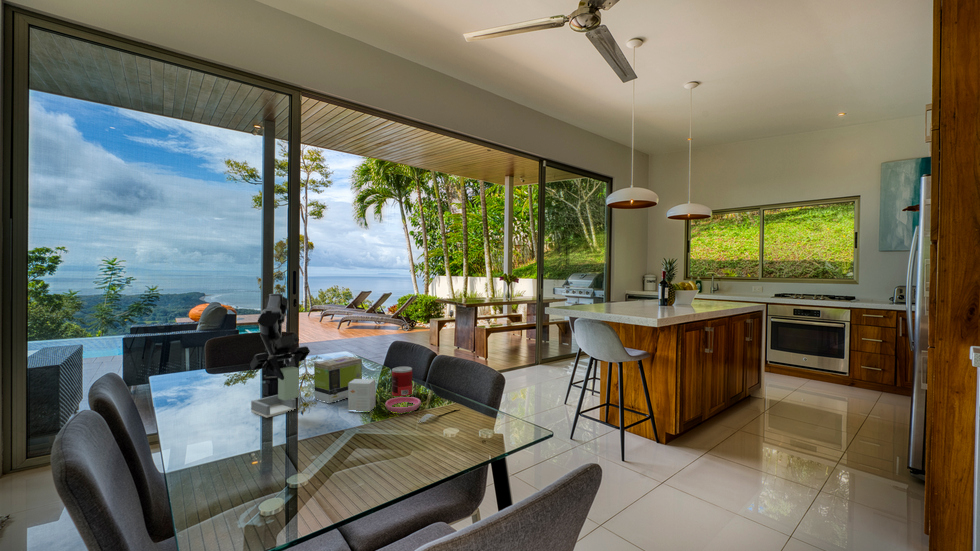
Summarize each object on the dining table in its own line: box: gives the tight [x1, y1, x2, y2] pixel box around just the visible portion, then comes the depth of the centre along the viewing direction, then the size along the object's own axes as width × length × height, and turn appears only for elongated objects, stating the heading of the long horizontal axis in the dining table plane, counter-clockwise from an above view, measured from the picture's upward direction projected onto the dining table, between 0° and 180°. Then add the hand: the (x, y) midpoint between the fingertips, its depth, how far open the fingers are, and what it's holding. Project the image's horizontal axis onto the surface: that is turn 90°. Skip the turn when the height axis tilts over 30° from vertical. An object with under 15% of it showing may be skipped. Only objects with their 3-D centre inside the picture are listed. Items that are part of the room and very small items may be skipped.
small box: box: [347, 378, 376, 412], centre depth 151 cm, size 8×6×10 cm
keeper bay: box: [250, 395, 297, 418], centre depth 150 cm, size 10×10×4 cm
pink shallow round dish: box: [384, 396, 422, 413], centre depth 153 cm, size 12×12×3 cm
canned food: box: [391, 366, 413, 397], centre depth 168 cm, size 8×8×11 cm
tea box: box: [313, 355, 363, 404], centre depth 166 cm, size 15×10×15 cm
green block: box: [278, 366, 300, 401], centre depth 145 cm, size 4×5×10 cm
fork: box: [418, 413, 436, 423], centre depth 147 cm, size 3×21×3 cm, turn 142°
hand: (290, 377), depth 144 cm, fingers closed on green block, 5 cm apart
